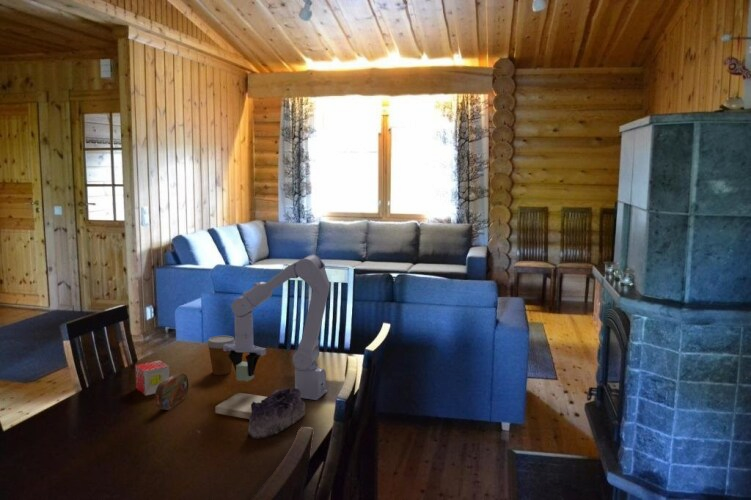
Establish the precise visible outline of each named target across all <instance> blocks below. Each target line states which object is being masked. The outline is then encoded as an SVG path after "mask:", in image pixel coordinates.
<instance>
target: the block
mask: <svg viewBox="0 0 751 500" xmlns="http://www.w3.org/2000/svg"><path fill="white" fill-rule="evenodd" d="M235 376H236V378H235V380H236V381H238V382H239V381H240V382H246V383H247V382H249V381H251V380H252V379H254V378H255V374H254V375H252V376H249V375H248V364H247V361H243V360H242V362H241V363H239V364H237V365H236V371H235Z"/></svg>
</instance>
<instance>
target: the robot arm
mask: <svg viewBox="0 0 751 500" xmlns="http://www.w3.org/2000/svg"><path fill="white" fill-rule="evenodd" d="M298 278H300V279H301V280H303V281H304V282H306V284H308V286H309V287H310V288H311V290H312V293H311V296H310V302H309V306H308V310H307V313H306V319H305V322H304V323H305V324H304V328H303V333H302V337H301V338H300V339H301V340H300V342H299V344H298V347H297V350H296V352H295V353H293V356H292V364H293V365H294V388H295V389H299V390H300V392H301V395H300V398H301V399H307V400H313V401H318V400H319V399H320V398H321V397H322V396H324V395H325V394H326V393H327V392H328V390H327V373H326V372H327V371H326V370H325V369H324V368H320V367H319V366H318V365H319V364H318V362H317V359H318V358H319V356H320V350H319V342H320V340H319V336H320V332H321V326H322V322H323V318H324V313H325V308H326V305H327V301H328V296H329V292H330V286H331V284H330V281H329V277H328V274H327V271H326V265H325V263H324V262H323V260H322V259H321V258H320V257H319V256H318V255H316V254H309V255H307V256H306V257H304V258H301V259H299V260H297V261H296V262H294V263H292V264H290V265H288V266H286V267H284V269H282V270H281V271H280V272H279V273H277V274H276V275H274V276H273V277H272V278H271V279H269V280H268V281H267V282H266V281H260V282H257V281H256V282H255V283H253V284H252V286H253V287H252V288H250V289H249V290H247V291H243V292H242V293H241V294H242V295H241V296H240V297H236V298H235V299H234V300H233V301H232V302H231V305H230V306H231V307H230V309H231V311H232V313H233V314H234V340H235V344H225V345H223V350H224V351H231V352H230V354H229V358H230V359H231V361H232V366H233V368H234V371H235V372H236V365H237V364H239V363H241V362H243V356H244V354H248V355H246V356H245V360H246V362H247V364H248V375H249V376H252V375H254V376H255V371H256V370H255V369H256V366H257V363H258V360H259V359H260V357H261V356H262V357H263V356H265V355H267V347H262V346H261V347H260V346H257V345H254V318H253V315H254V314H253V312H254V310H255V308H257V307H259V306H261V305H262V304H263V303H264V302H265V301H267V300H269V299H270V298H272V295H273V291H274V290H275V289H277V288H278V287H280V286H281V285H282V284H284V283H285V282H287V281H289V280H290V279H298Z"/></svg>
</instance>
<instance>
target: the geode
mask: <svg viewBox="0 0 751 500" xmlns="http://www.w3.org/2000/svg"><path fill="white" fill-rule="evenodd" d="M300 395H301V392H300V390H299V389H295V387H294V388H292V389H290V388H285V389H277V390H275V391H274V392H272V394H271V395H270V396H266V397H267V398H265V399H264V400H262V401H261V403H255V402H254V401H253V403H252V404H251V410H252V415H251V416H250V418H249V419H248V420H249V423H248V429H247V433H248V435H249V436H250V438H251V439H253V440H262V439H267V438H271V437H275V436H277V435H278V434H279V433H280V432H282V431H284V430H286V428H287V429H288V428H289V427H290V426H292V425H294V424H295V423H297V422H298V421H299V420H301V419H302V418H303V417H304V416H306V402H305V401H303V400H302V398H300Z"/></svg>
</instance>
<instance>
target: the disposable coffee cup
mask: <svg viewBox="0 0 751 500" xmlns="http://www.w3.org/2000/svg"><path fill="white" fill-rule="evenodd" d="M206 344H207V346H208V349H209V350H208V351H209V357H210V363H211V364H210V365H211V369H212V374H214V375H216V376H217V375H218V376H224V375H229V374H230V373H232V367H233V363H232V361H231V359H230V358H229V354H230V352H231V351H224V350H223V345H225V344H235V337H234V336H231V335H216V336H212V337H209V338H208V341H207V343H206Z"/></svg>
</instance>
